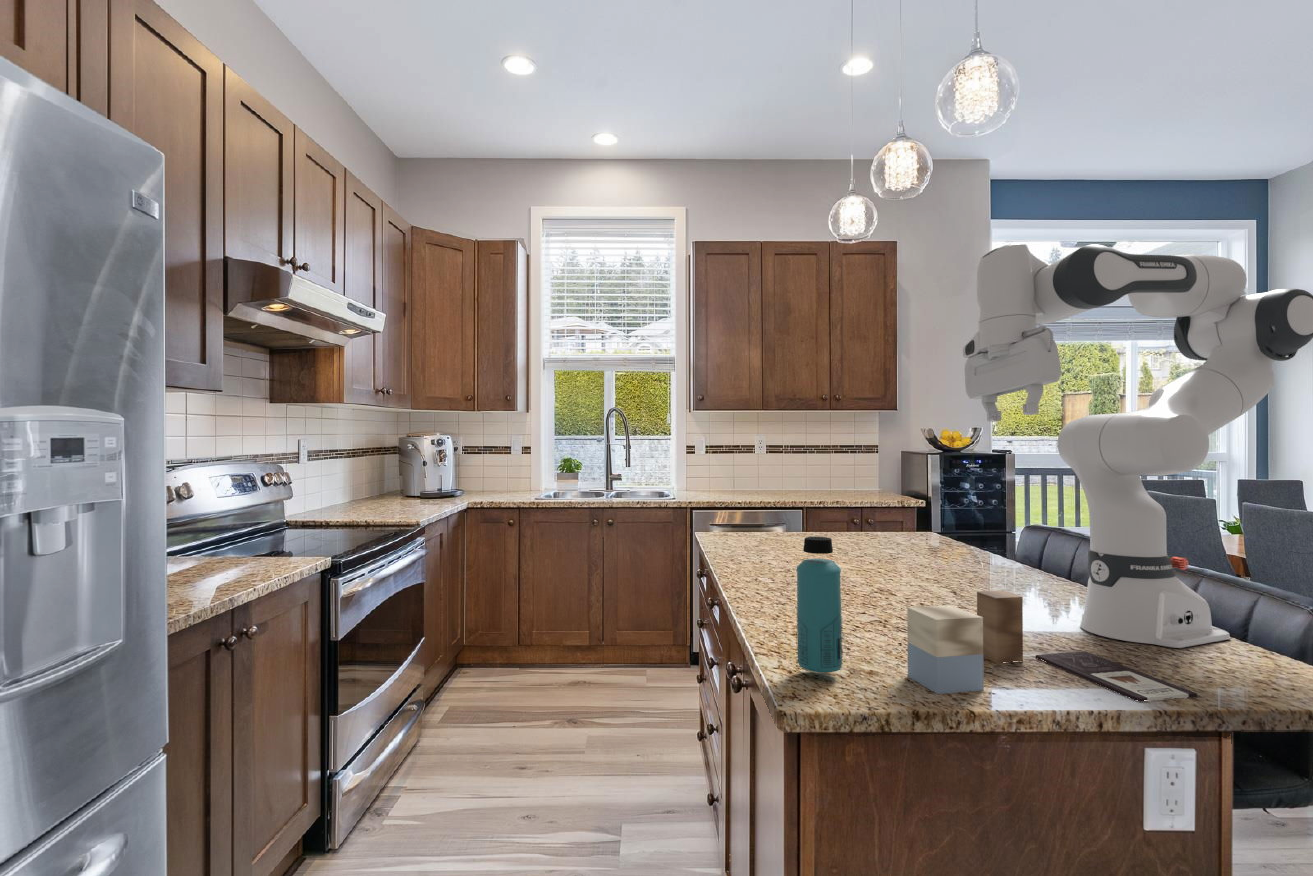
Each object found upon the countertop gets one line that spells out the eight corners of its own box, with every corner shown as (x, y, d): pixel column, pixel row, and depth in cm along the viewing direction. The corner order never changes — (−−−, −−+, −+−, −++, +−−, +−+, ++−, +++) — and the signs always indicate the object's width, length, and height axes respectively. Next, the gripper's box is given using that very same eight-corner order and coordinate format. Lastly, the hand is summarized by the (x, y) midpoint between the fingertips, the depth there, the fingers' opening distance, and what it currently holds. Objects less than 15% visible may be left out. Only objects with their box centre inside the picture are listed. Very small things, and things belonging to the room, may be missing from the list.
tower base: (951, 673, 97) (951, 639, 97) (983, 691, 90) (983, 654, 90) (907, 677, 95) (907, 642, 95) (936, 695, 88) (936, 657, 89)
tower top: (951, 639, 97) (951, 605, 97) (983, 654, 90) (982, 617, 90) (907, 642, 95) (907, 607, 96) (936, 657, 89) (936, 619, 89)
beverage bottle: (844, 685, 92) (844, 540, 92) (795, 682, 93) (795, 539, 93) (841, 669, 98) (840, 534, 98) (795, 666, 99) (795, 533, 100)
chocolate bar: (1085, 651, 105) (1197, 693, 87) (1085, 657, 105) (1197, 700, 87) (1035, 655, 103) (1138, 698, 86) (1035, 661, 103) (1138, 705, 86)
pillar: (1002, 653, 106) (1001, 590, 106) (1022, 662, 101) (1022, 596, 102) (977, 654, 105) (976, 591, 105) (996, 664, 101) (996, 598, 101)
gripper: (1069, 323, 104) (1074, 410, 103) (988, 351, 124) (992, 424, 123) (1032, 321, 103) (1037, 409, 102) (956, 350, 123) (960, 424, 122)
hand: (1011, 418), depth 113 cm, fingers open, 8 cm apart
